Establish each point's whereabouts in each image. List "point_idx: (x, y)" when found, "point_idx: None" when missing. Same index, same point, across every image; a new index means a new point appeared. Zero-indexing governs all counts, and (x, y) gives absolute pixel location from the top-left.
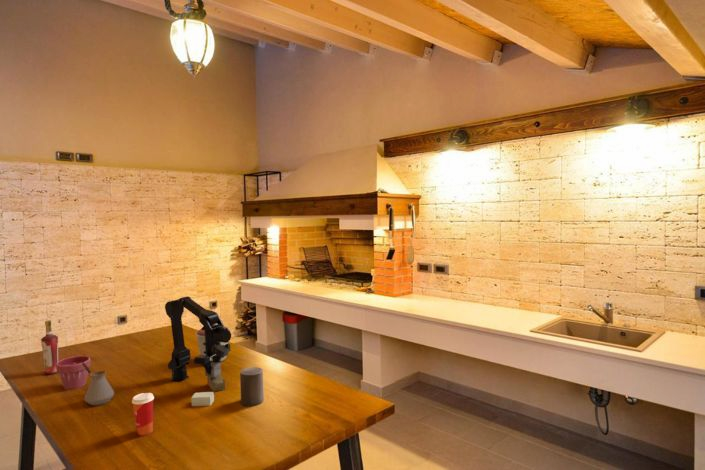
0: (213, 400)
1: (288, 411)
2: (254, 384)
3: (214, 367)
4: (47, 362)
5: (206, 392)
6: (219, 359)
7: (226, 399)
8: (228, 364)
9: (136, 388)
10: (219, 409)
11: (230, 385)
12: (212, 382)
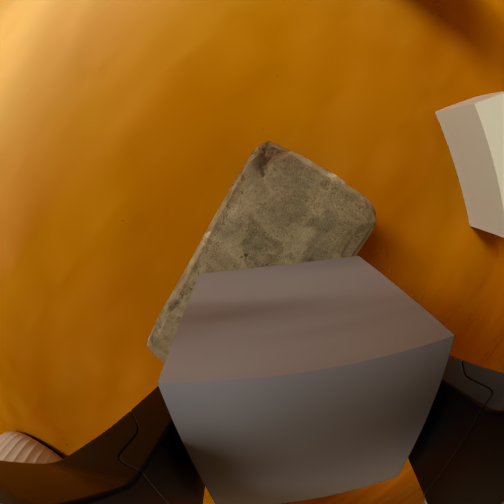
0: (444, 108)
1: None
2: None
3: (416, 323)
4: None
5: (494, 156)
6: (121, 475)
7: (390, 37)
8: (13, 400)
9: (368, 498)
10: (472, 31)
11: (170, 171)
12: (364, 242)
